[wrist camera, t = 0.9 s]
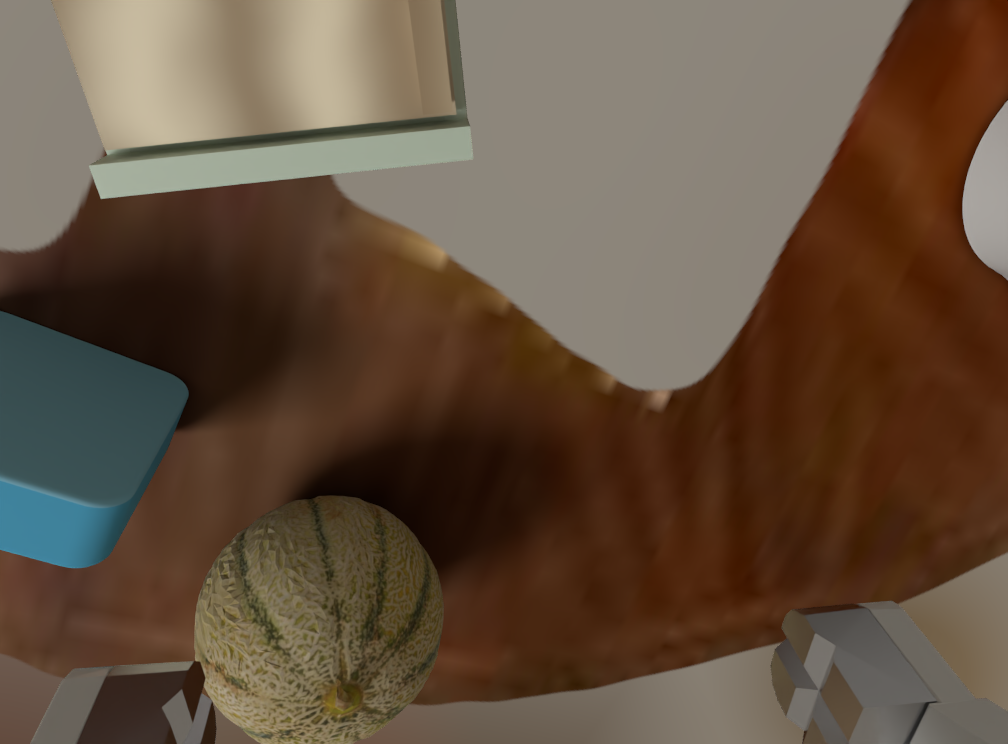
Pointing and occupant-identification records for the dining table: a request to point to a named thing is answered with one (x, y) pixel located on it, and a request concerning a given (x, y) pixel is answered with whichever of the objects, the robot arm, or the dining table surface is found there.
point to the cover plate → (255, 65)
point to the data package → (76, 441)
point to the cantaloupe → (319, 622)
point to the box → (293, 149)
